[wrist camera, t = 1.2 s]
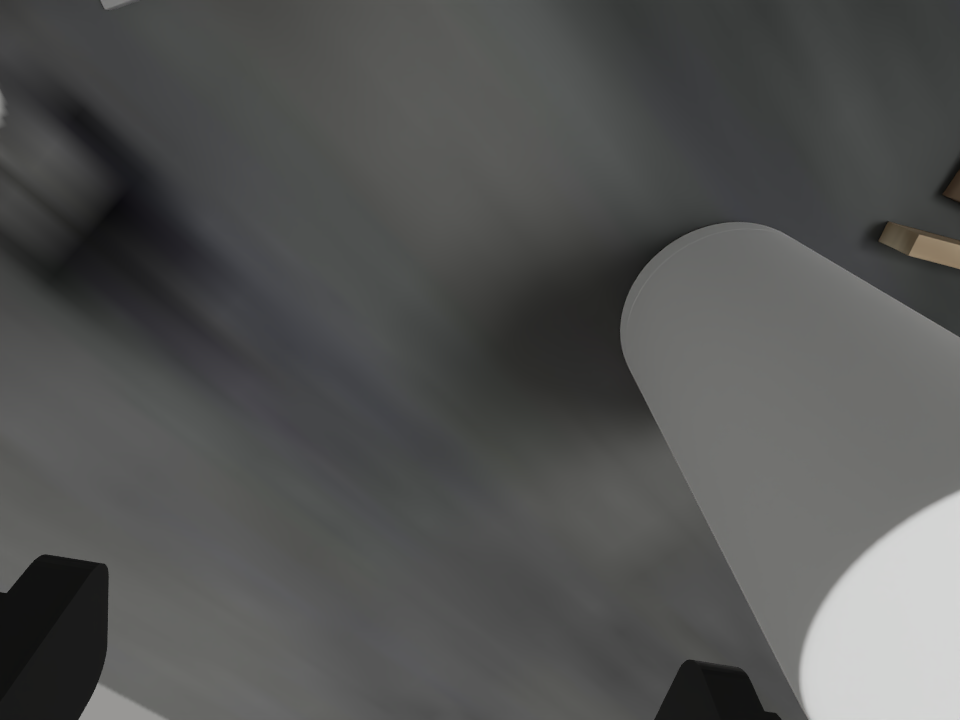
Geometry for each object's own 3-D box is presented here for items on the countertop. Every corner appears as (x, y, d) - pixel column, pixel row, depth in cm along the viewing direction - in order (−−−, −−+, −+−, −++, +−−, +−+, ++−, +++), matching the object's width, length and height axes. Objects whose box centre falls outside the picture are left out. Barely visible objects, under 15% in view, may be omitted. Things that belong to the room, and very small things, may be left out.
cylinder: (584, 370, 44) (716, 726, 21) (686, 186, 39) (1000, 388, 16) (750, 437, 46) (1031, 823, 23) (865, 272, 41) (1360, 553, 18)
